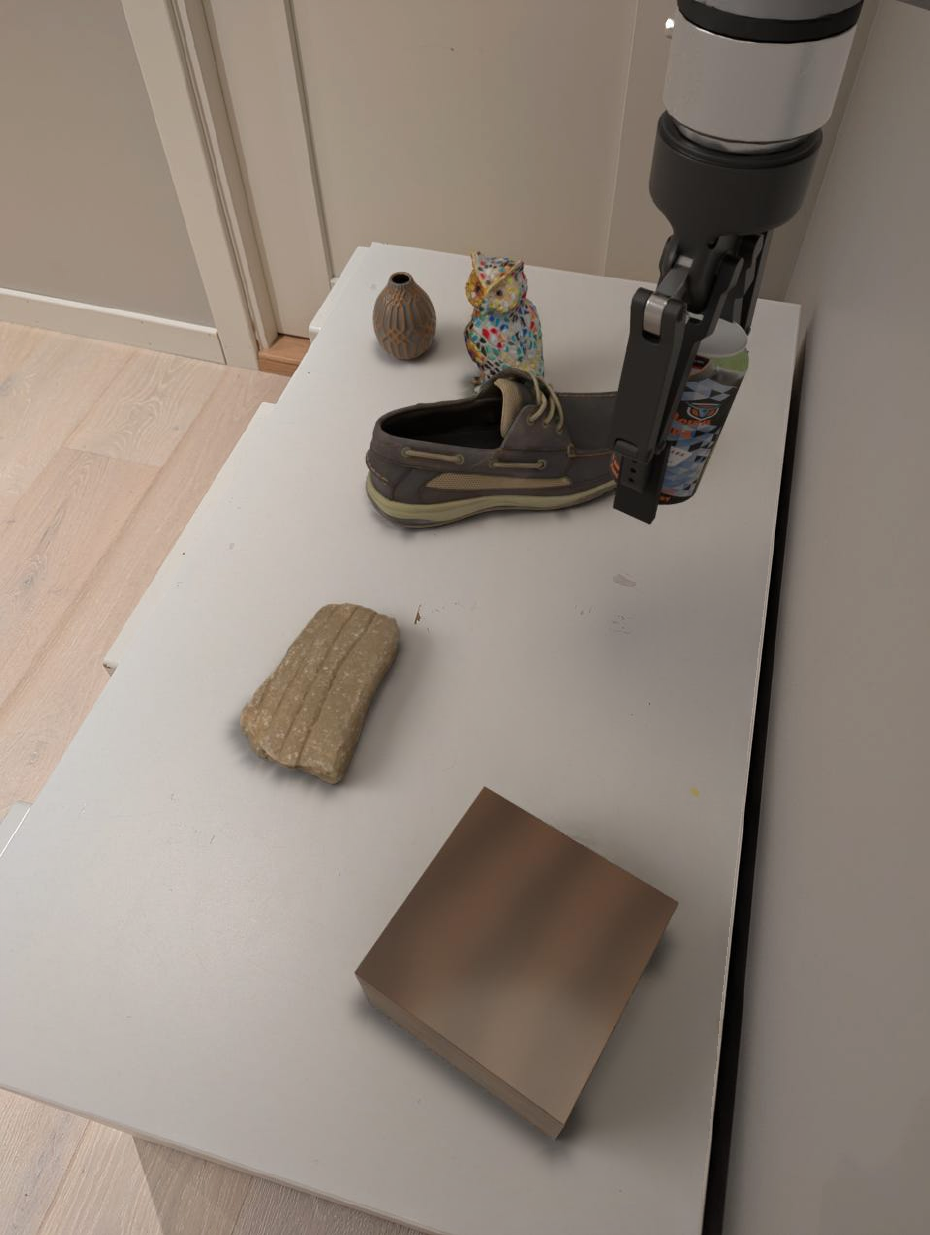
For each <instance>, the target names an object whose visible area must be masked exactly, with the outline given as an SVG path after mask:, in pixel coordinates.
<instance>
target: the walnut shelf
mask: <svg viewBox="0 0 930 1235" xmlns="http://www.w3.org/2000/svg"><path fill="white" fill-rule="evenodd" d="M679 904H680V903H679V901H677V900H676V899H674V898H672V897H671V896H669V895H667V894H665V892H662V891H660V890H659V889H657V888H656V887H654V886H652V885H650V884H649V883H647V882H646V881H644V880H643V879H641V878H639V877H637V876H636V875H634V874H633V873H630V872H629V871H627V870H625V869H624V868H622V867H621V866H619V865H617V864H615V862H612V861H611V860H609V859H607V858H605V857H604V856H602V855H601V854H599V853H598V852H596V851H594V850H592V849H590V848H589V847H587V846H585V845H584V844H582V843H580V842H579V841H577V840H575V839H574V838H572V837H570V836H569V835H567V834H565V833H564V832H562V831H560V830H559V829H557V828H555V826H552V825H551V824H549V823H547V822H545V821H543V820H542V819H540V818H539V817H537V816H535V815H534V814H532V813H530V812H529V811H527V810H525V809H524V808H522V807H520V806H519V805H517V804H516V803H514V802H512V801H510V800H508V798H505V797H504V796H502V795H501V794H498V793H496V792H495V791H493V790H492V789H491V788H488V787H487V786H484V785H483V787H482V788H481V790H480V792H479V793H478V795H477V796H476V797H475V799H474V800H473V802H472V803H471V805H469V807H468V809H467V810H466V812H464V815H463V816H462V817H461V819H460V820H459V822H458V823H457V824H456V826H455V827H454V829H453V830H452V832H451V833H450V834H449V836H448V837H447V839H446V840H445V841H444V843H443V845H442V846H441V848H440V849H439V850H438V851H437V853H436V855H435V856H434V857H433V859H432V860H431V862H430V863H429V864H428V866H427V868H426V869H425V871H423V873H422V875H421V876H420V877H419V879H418V880H417V882H416V884H415V885H414V886H413V888H412V889H411V890H410V892H409V893H408V895H407V896H406V897H405V899H404V900H403V901H402V903H401V905H400V906H399V907H398V909H397V910H396V912H395V913H394V915H393V916H392V918H391V919H390V921H389V922H388V923H387V925H386V926H385V927H384V929H383V930H382V932H381V933H380V935H379V937H378V938H377V939H376V941H375V943H373V945H372V946H371V947H370V949H369V950H368V952H367V953H366V955H365V956H364V958H363V959H362V960H361V962H360V964H359V965H358V966H357V968H356V969H355V970H354V975H355V978H356V979H357V982H358V983H359V984H360V985H359V986H360V987H361V989H362V991H363V993H364V995H365V997H366V999H367V1001H368V1004H369V1005H371V1006H372V1007H373V1008H375V1009H376V1010H377V1011H379V1012H380V1013H382V1014H383V1015H384V1016H385V1017H387V1018H388V1019H390V1020H391V1021H392V1022H393V1023H394V1024H396V1025H397V1026H399V1027H400V1028H402V1030H404V1031H405V1032H407V1033H408V1034H409V1035H411V1036H412V1037H414V1038H415V1039H416V1040H418V1041H419V1042H420V1043H421V1044H423V1045H424V1046H426V1047H427V1048H429V1049H430V1050H431V1051H433V1052H434V1053H435V1054H437V1055H438V1056H439V1057H440V1058H442V1059H444V1060H445V1061H446V1062H448V1063H449V1064H450V1065H451V1066H453V1067H455V1068H456V1069H457V1070H459V1071H460V1072H461V1073H462V1074H464V1075H465V1076H467V1077H468V1078H469V1079H470V1080H472V1081H473V1082H475V1083H476V1084H478V1085H479V1086H480V1087H482V1088H483V1089H484V1090H486V1091H487V1092H488V1093H490V1095H492V1096H494V1097H495V1098H496V1099H498V1100H499V1101H500V1102H502V1103H503V1104H504V1105H506V1106H507V1107H509V1108H510V1109H511V1110H513V1111H514V1112H515V1113H517V1114H518V1115H519V1116H521V1117H522V1118H523V1119H525V1120H526V1121H527V1122H528V1123H530V1124H532V1125H533V1126H534V1127H535V1128H537V1129H538V1130H539V1131H541V1132H543V1134H544V1135H547V1136H548V1137H549V1138H550V1139H552V1140H554V1141H556V1139H557V1137H558V1136H559V1135H560V1133H561V1131H562V1130H563V1129H564V1127H565V1126H566V1124H567V1122H568V1120H569V1118H570V1116H571V1114H572V1112H573V1110H574V1108H575V1106H576V1105H577V1103H578V1101H579V1098H580V1097H581V1094H582V1093H583V1090H584V1089H585V1087H586V1085H587V1083H588V1081H589V1080H590V1077H591V1075H592V1073H593V1071H594V1069H595V1067H596V1065H597V1064H598V1062H599V1060H600V1058H601V1056H602V1054H603V1052H604V1050H605V1048H606V1046H607V1045H608V1042H609V1040H610V1039H611V1036H612V1034H613V1032H614V1031H615V1028H616V1027H617V1025H618V1023H619V1022H620V1021H619V1020H620V1019H621V1017H622V1015H623V1013H624V1012H625V1009H626V1007H627V1005H628V1003H629V1001H630V1000H631V998H632V995H633V993H634V992H635V989H636V987H637V986H638V983H639V982H640V980H641V978H642V975H643V974H644V972H645V970H646V969H647V967H648V965H649V963H650V961H651V958H652V956H653V955H654V952H655V951H656V949H657V947H658V945H659V943H660V941H661V939H662V937H663V935H664V934H665V931H666V929H667V928H668V926H669V923H670V921H671V920H672V918H673V915H674V914H675V912H676V910H677V908H678V906H679Z"/></svg>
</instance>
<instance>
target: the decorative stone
mask: <svg viewBox="0 0 930 1235" xmlns="http://www.w3.org/2000/svg"><path fill="white" fill-rule="evenodd" d="M399 639H400V628H399V626H398V624H397V619H396V618H395V617H391V616H388V615H385V614H382V613H379V612H377V611H376V610H374V609H371V608H370V607H364V606H363V605H359V604H354V603H349V602H344V603H340V604H339V603H328V604H325V605H323V606H322V607H321V608H320V609H319V610H317V611H316V612H315V614H314V615H313V617H311V619H310V620H309V621H308V622H307V624H306V626H305V627H304V628H303V629H302V630H301V631H300V632H299V634H298V635H297V637H296V638H295V639H294V641H293V642H292V643H291V644H290V646H289V647H288V648H287V651H286V652H285V655H284V656H283V657H282V659H281V660H280V662H279V664H278V665H277V667H276V668H275V669H274V671H272V672H271V673H270V674H269V675H268V676H267V677H266V679H265V680H264V681H263V682H262V683H261V684H260V685H259V686H258V687H257V688H256V690H255V691H254V693H253V695H252V698H251V700H250V701H249V702H247V703H246V704H245V705H244V707H243V709H242V712H241V716H240V720H239V727H240V729H241V732H242V733H243V735H245V736H246V737H247V741H248V742H250V747H251V749H252V751H253V752H254V753H255V754H256V755H257V756H258V757H261V758H262V759H263V760H268V762H272V763H274V764H276V765H278V766H279V767H281V768H286V769H289V770H290V769H291V770H300V771H303V772H305V773H307V774H309V775H312V776H315V777H316V778H318V779H320V780H321V781H323V782H325V783H327V784H329V785H334V784H337V783H338V782H339V781H341V780H342V779H343V778H344V776H345V774H346V772H347V769H348V767H349V764H350V763H351V759H352V757H353V754H354V752H355V749H356V746H357V744H358V742H359V738H360V735H361V731H362V728H363V725H364V722H365V720H366V719H365V718H366V715H367V712H368V709H369V706H370V704H371V702H372V700H373V698H374V695H375V693H376V691H377V689H378V687H379V685H380V683H381V682H382V680H383V678H384V677H385V675H386V673H387V672H388V671H389V669H390V667H391V666H392V664H393V662H394V660H395V658H396V657H397V654H398V649H399Z"/></svg>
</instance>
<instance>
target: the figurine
mask: <svg viewBox="0 0 930 1235" xmlns="http://www.w3.org/2000/svg"><path fill="white" fill-rule="evenodd" d="M470 259H471V266H472V268H473V269H472V270H471V271H470V274H469V275H468V278H467V282H465V287H464V290H465V295H466V298H467V302H468V303H469V304H470V305H471V306H472V313H471V316H470V321H468V324H467V325H466V326H465V327H464V331H463V339H464V344H465V347H466V348H465V349H466V352H467V354H468V356H469V358H470V360H471V361H472V363H475V364H476V366H477V368H478V369H479V370H480V371H481V373H482V375H480V376H472V377H471V378H470V380H469V383H471V384H472V385H473V386H474V387H473V389H472V394H473V396H475V395H477V394H478V393H479V391H480V389H481V386H482V385H483V384H484V383H485V382H486V381H488V380H489V379H490V378H491V377H492V376H494V375H495V374H496V373H498V372H500V371H501V370H504V369H507V368H518V369H525V370H529V371H530V372H532V373H533V374H534V375H535V376H540V377H542V378H543V379H544V380H545V365H544V364H545V358H544V347H543V346H544V345H543V332H542V323H541V320H540V316H539V312H538V309H537V306H536V305H535V304H534V303H533V301H531V300H530V299H529V298H528V297H527V294H528V291H529V290H528V288H529V287H528V278H527V275H526V274H525V270H524V268H525V262H524V260H523V258H522V259H521V258H520V259H519V260H518V262H516V261H514V260H511V259H509V257H501V256H496V257H495V256H494V257H487V256H486V255H485V254H484V253H481V251H480V250H479V249H476V250H473V251H472V252H471V253H470Z"/></svg>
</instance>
